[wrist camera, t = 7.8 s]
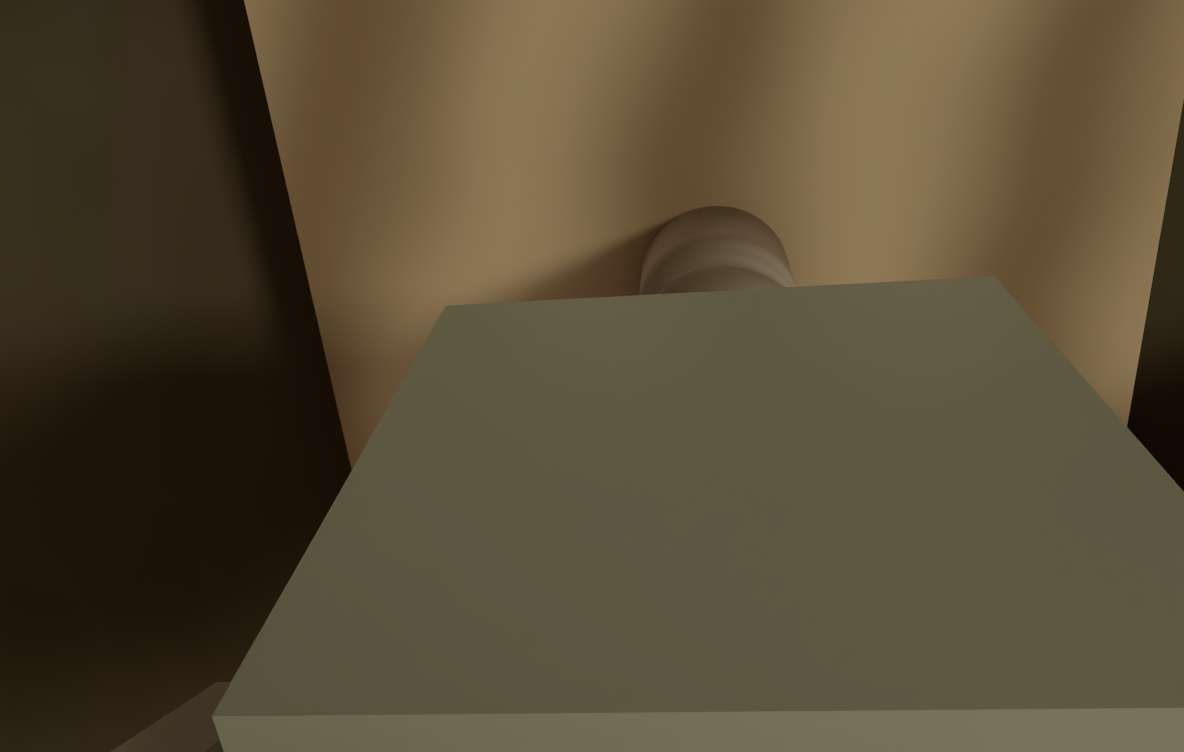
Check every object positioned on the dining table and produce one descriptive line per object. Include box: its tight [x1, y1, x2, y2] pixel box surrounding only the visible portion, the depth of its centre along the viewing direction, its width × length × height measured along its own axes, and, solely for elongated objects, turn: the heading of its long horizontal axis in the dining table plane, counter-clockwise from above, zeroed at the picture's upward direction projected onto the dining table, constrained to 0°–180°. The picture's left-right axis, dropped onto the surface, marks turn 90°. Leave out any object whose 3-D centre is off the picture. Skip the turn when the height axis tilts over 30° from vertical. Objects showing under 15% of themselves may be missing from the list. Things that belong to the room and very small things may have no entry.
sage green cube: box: [212, 276, 1184, 752], centre depth 9 cm, size 6×6×6 cm
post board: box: [244, 0, 1184, 469], centre depth 17 cm, size 16×16×6 cm
